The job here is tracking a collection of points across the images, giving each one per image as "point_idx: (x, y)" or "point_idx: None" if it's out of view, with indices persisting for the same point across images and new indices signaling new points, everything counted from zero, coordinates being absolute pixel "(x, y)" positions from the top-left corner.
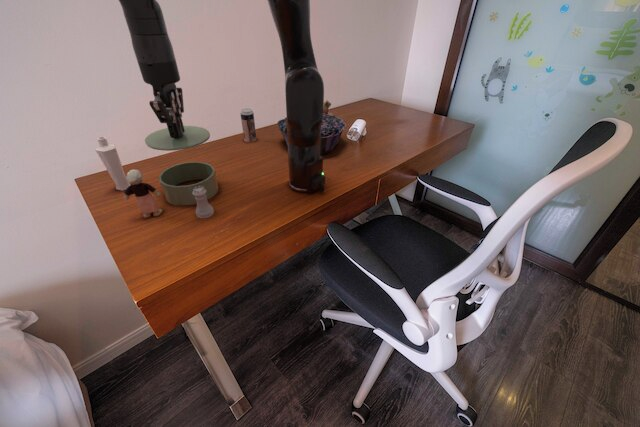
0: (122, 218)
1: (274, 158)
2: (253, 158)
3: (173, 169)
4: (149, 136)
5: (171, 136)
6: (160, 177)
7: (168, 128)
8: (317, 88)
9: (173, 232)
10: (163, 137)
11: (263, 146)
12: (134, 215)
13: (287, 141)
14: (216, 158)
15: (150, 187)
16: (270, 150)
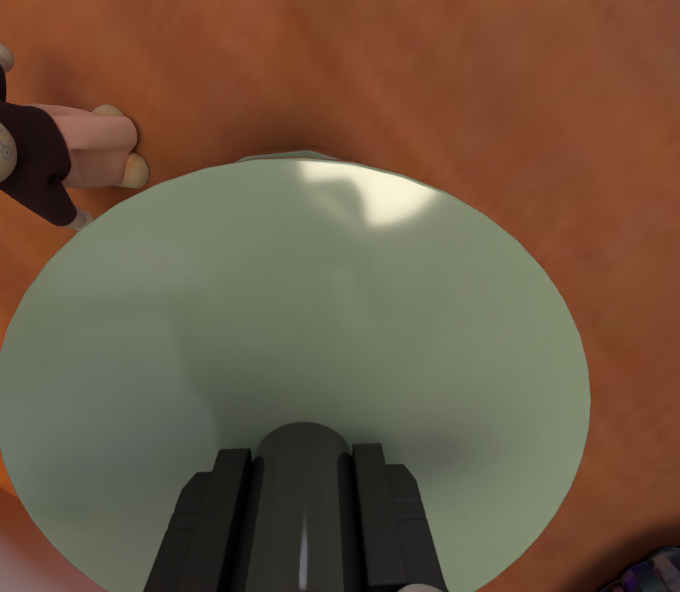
0: (50, 9)
1: (582, 507)
2: (600, 435)
3: None
4: (270, 191)
5: (220, 459)
6: None
7: (159, 555)
8: None
9: (18, 286)
10: (259, 350)
11: None
12: (86, 62)
13: (675, 586)
14: (639, 277)
15: (36, 212)
16: (666, 485)
